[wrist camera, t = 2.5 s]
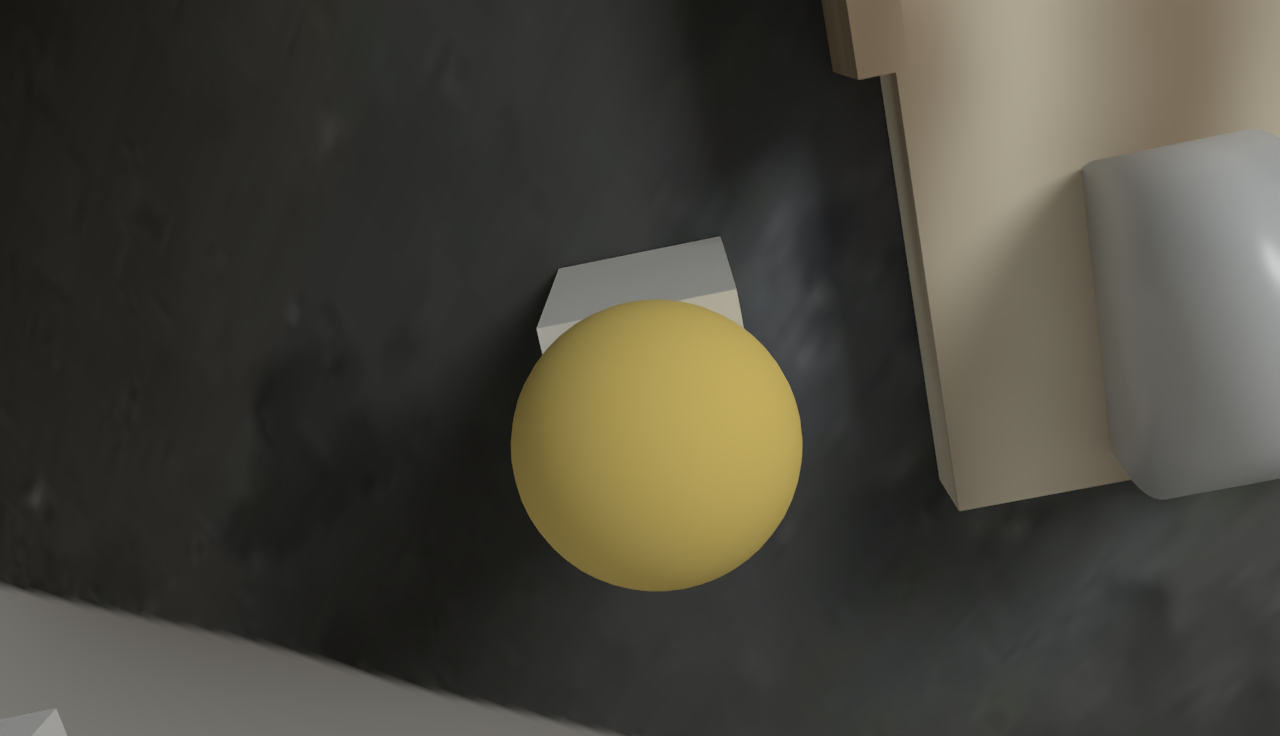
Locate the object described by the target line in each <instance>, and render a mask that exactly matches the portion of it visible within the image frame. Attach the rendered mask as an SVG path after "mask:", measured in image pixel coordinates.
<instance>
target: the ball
mask: <svg viewBox="0 0 1280 736" xmlns="http://www.w3.org/2000/svg"><path fill="white" fill-rule="evenodd" d="M511 460H512V466H513V472H514V477H515V481H516V485H517V488H518V491H519V494H520V497H521V500H522V503H523V505H524V507H525V509H526V511H527V513H528V515H529V517H530V519H531V520H532V522H533V523H534V525H535V526H536V528H537V529H538V531H539V532H540V533H541V535H542V536H543V537H544V538H545V539H546V541H547V542H548V543H549V544H550V545H551V546H552V547H553V549H554V550H556V551H557V552H558V553H559V554H560V555H561V556H562V557H563V558H564V559H566V560H567V561H568V562H570V563H571V564H572V565H574V566H575V567H577V568H578V569H580V570H581V571H583V572H585V573H587V574H589V575H591V576H593V577H595V578H597V579H599V580H602V581H605V582H607V583H610V584H613V585H616V586H620V587H625V588H629V589H635V590H643V591H670V590H679V589H685V588H689V587H693V586H697V585H701V584H704V583H706V582H709V581H712V580H714V579H717V578H719V577H721V576H723V575H725V574H726V573H728V572H730V571H732V570H734V569H735V568H737V567H738V566H739V565H741V564H742V563H744V562H745V561H747V560H748V559H749V558H750V557H751V556H752V555H753V554H755V553H756V552H757V551H758V550H759V549H760V548H761V547H762V546H763V544H764V543H765V542H766V541H767V540H768V539H769V537H770V536H771V535H772V534H773V533H774V531H775V530H776V528H777V527H778V525H779V524H780V522H781V521H782V519H783V517H784V516H785V514H786V512H787V510H788V507H789V505H790V503H791V501H792V498H793V495H794V492H795V489H796V486H797V483H798V478H799V473H800V467H801V461H802V433H801V423H800V417H799V413H798V409H797V405H796V401H795V398H794V396H793V393H792V391H791V388H790V386H789V383H788V381H787V380H786V378H785V376H784V374H783V373H782V371H781V369H780V367H779V366H778V364H777V363H776V361H775V360H774V359H773V357H772V356H771V355H770V353H769V352H768V351H767V350H766V348H765V347H764V346H763V345H762V344H761V343H760V342H759V341H758V340H757V339H756V338H755V337H754V336H753V335H752V334H750V333H749V332H748V331H746V330H745V329H744V328H742V327H741V326H740V325H738V324H737V323H735V322H733V321H732V320H730V319H728V318H726V317H724V316H723V315H721V314H719V313H716V312H714V311H711V310H709V309H706V308H704V307H701V306H698V305H694V304H690V303H686V302H681V301H673V300H640V301H633V302H627V303H623V304H619V305H616V306H612V307H609V308H607V309H604V310H602V311H599V312H597V313H594V314H592V315H590V316H589V317H587V318H585V319H583V320H582V321H580V322H578V323H576V324H575V325H573V326H572V327H571V328H569V329H568V330H567V331H566V332H564V333H563V334H562V335H560V336H559V337H558V338H557V339H556V340H555V341H554V342H553V343H552V344H551V345H550V346H549V347H548V348H547V350H546V351H545V352H544V354H543V355H542V356H541V357H540V359H539V360H538V361H537V363H536V364H535V366H534V368H533V369H532V371H531V373H530V375H529V376H528V378H527V380H526V382H525V383H524V386H523V388H522V391H521V393H520V396H519V398H518V401H517V405H516V410H515V414H514V418H513V425H512V435H511Z"/></svg>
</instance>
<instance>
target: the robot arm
mask: <svg viewBox="0 0 1280 736" xmlns="http://www.w3.org/2000/svg"><path fill="white" fill-rule="evenodd" d="M0 736H67V734H66V732H65V729H64V727H63V724H62V722H61V719H60V717H59V715H58V712H57V710H56V708H55V709H50V710H45V711H40V712H35V713H30V714H25V715H20V716H16V717H11V718H7V719H1V720H0Z"/></svg>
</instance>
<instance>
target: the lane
mask: <svg viewBox="0 0 1280 736" xmlns="http://www.w3.org/2000/svg"><path fill="white" fill-rule="evenodd" d="M821 1H822V7H823V13H824V20H825V26H826V32H827V39H828V45H829V51H830V58H831V64H832V70H833V72H835V73H838V74H841V75H844V76H847V77H850V78H853V79H856V80H861V79H866V78H871V77H876V76H880V81H881V88H882V95H883V101H884V108H885V115H886V122H887V128H888V135H889V142H890V149H891V155H892V162H893V169H894V176H895V183H896V189H897V196H898V203H899V210H900V216H901V223H902V230H903V237H904V243H905V250H906V257H907V264H908V270H909V277H910V284H911V291H912V298H913V304H914V311H915V318H916V325H917V331H918V338H919V345H920V352H921V358H922V365H923V372H924V379H925V385H926V392H927V399H928V406H929V413H930V419H931V426H932V433H933V440H934V446H935V453H936V460H937V467H938V473H939V479H940V481H941V483H942V484H943V486H944V487H945V489H946V491H947V492H948V494H949V496H950V497H951V499H952V500H953V502H954V504H955V505H956V507H957V509H958V510H959V511H964V510H969V509H975V508H980V507H986V506H991V505H997V504H1002V503H1007V502H1013V501H1018V500H1024V499H1029V498H1035V497H1040V496H1045V495H1051V494H1056V493H1062V492H1067V491H1073V490H1078V489H1084V488H1089V487H1094V486H1100V485H1105V484H1111V483H1116V482H1122V481H1127V480H1131V479H1130V478H1129V476H1128V475H1127V474H1126V472H1125V471H1124V469H1123V468H1122V467H1121V465H1120V463H1119V462H1118V460H1117V458H1116V457H1115V455H1114V453H1113V451H1112V449H1111V444H1110V435H1109V425H1108V416H1107V406H1106V397H1105V387H1104V378H1103V368H1102V359H1101V349H1100V340H1099V330H1098V321H1097V311H1096V302H1095V292H1094V283H1093V273H1092V264H1091V255H1090V245H1089V236H1088V226H1087V217H1086V207H1085V198H1084V188H1083V179H1082V168H1083V166H1084V165H1086V164H1087V163H1089V162H1090V161H1094V160H1098V159H1103V158H1108V157H1113V156H1118V155H1123V154H1128V153H1133V152H1138V151H1143V150H1148V149H1153V148H1158V147H1163V146H1168V145H1173V144H1178V143H1183V142H1187V141H1192V140H1197V139H1202V138H1207V137H1212V136H1217V135H1222V134H1227V133H1232V132H1237V131H1242V130H1247V129H1259V130H1263V131H1266V132H1270V133H1272V134H1274V135H1276V136H1278V137H1279V138H1280V0H821Z"/></svg>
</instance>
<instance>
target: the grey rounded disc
mask: <svg viewBox="0 0 1280 736" xmlns="http://www.w3.org/2000/svg"><path fill="white" fill-rule="evenodd" d="M1082 179H1083V188H1084V198H1085V207H1086V217H1087V226H1088V236H1089V245H1090V255H1091V264H1092V273H1093V283H1094V292H1095V302H1096V311H1097V321H1098V330H1099V340H1100V349H1101V359H1102V368H1103V378H1104V387H1105V397H1106V406H1107V416H1108V425H1109V435H1110V444H1111V449H1112V451H1113V453H1114V455H1115V457H1116V458H1117V460H1118V462H1119V463H1120V465H1121V467H1122V468H1123V469H1124V471H1125V472H1126V474H1127V475H1128V476H1129V478H1130V479H1131V480H1132V481H1133V482H1134V483H1135V484H1136V486H1137V487H1138V488H1139V489H1141V490H1142V491H1143V492H1144V493H1145V494H1147V495H1149V496H1151V497H1153V498H1154V499H1159V500H1165V499H1171V498H1176V497H1182V496H1187V495H1193V494H1198V493H1204V492H1209V491H1215V490H1220V489H1226V488H1231V487H1237V486H1242V485H1248V484H1253V483H1259V482H1264V481H1270V480H1275V479H1280V138H1279V137H1278V136H1276V135H1274V134H1272V133H1270V132H1266V131H1263V130H1259V129H1247V130H1242V131H1237V132H1232V133H1227V134H1222V135H1217V136H1212V137H1207V138H1202V139H1197V140H1192V141H1187V142H1183V143H1178V144H1173V145H1168V146H1163V147H1158V148H1153V149H1148V150H1143V151H1138V152H1133V153H1128V154H1123V155H1118V156H1113V157H1108V158H1103V159H1098V160H1094V161H1090V162H1089V163H1087V164H1086V165H1084V166H1083V168H1082Z"/></svg>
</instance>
